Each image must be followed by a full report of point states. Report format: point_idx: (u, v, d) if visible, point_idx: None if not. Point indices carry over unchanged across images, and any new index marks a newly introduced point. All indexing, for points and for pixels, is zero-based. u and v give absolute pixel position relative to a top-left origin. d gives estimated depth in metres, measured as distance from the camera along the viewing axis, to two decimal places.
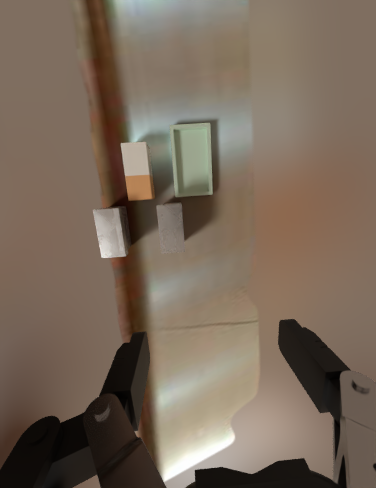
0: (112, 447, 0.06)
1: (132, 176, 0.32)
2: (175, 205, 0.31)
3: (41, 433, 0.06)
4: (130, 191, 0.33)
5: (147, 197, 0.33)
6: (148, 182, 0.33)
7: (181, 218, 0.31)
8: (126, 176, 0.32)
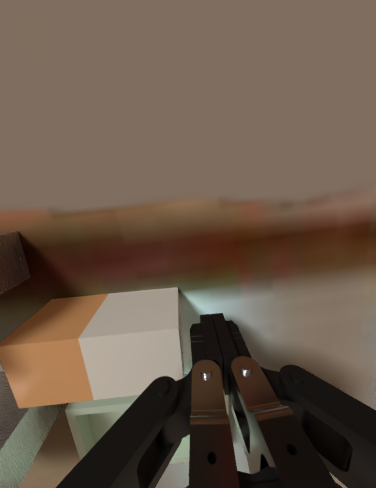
0: (206, 405, 0.07)
1: (80, 358, 0.10)
2: None
3: (164, 389, 0.07)
4: (29, 352, 0.10)
5: (20, 397, 0.10)
6: (69, 398, 0.11)
7: None
8: (79, 342, 0.10)
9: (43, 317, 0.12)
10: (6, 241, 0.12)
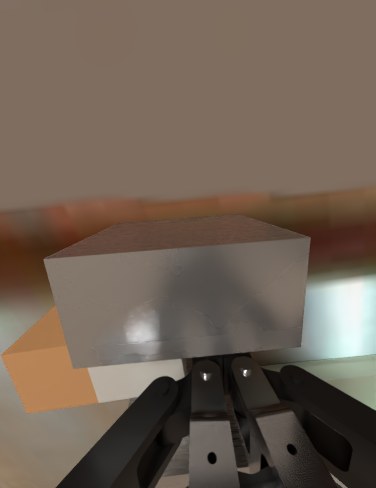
0: (206, 405, 0.07)
1: None
2: None
3: (164, 389, 0.07)
4: (33, 359, 0.10)
5: (28, 402, 0.11)
6: (75, 402, 0.11)
7: None
8: None
9: (46, 324, 0.12)
10: None
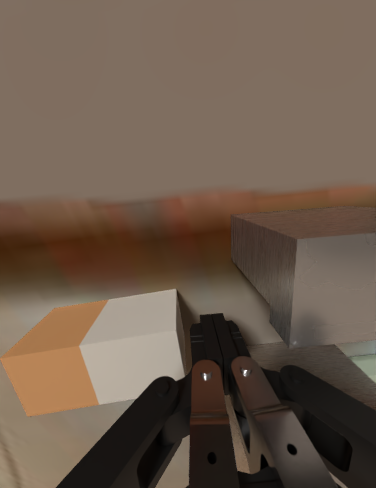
0: (206, 405, 0.07)
1: (82, 364, 0.10)
2: None
3: (164, 389, 0.07)
4: (32, 362, 0.10)
5: (28, 405, 0.11)
6: (75, 404, 0.11)
7: None
8: (80, 349, 0.10)
9: (46, 326, 0.12)
10: None
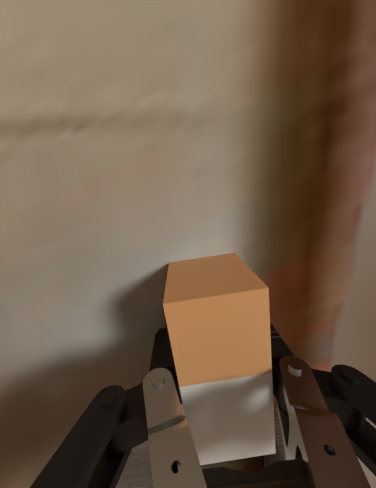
0: (162, 415, 0.07)
1: (244, 374, 0.08)
2: None
3: (110, 399, 0.07)
4: (257, 323, 0.08)
5: (183, 308, 0.07)
6: (181, 362, 0.08)
7: None
8: (266, 373, 0.08)
9: None
10: None
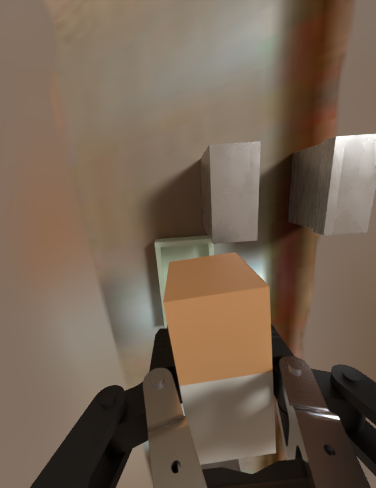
0: (162, 415, 0.07)
1: (244, 373, 0.08)
2: (223, 240, 0.17)
3: (110, 399, 0.07)
4: (257, 322, 0.08)
5: (183, 306, 0.07)
6: (181, 361, 0.08)
7: (213, 217, 0.17)
8: (266, 372, 0.08)
9: None
10: None
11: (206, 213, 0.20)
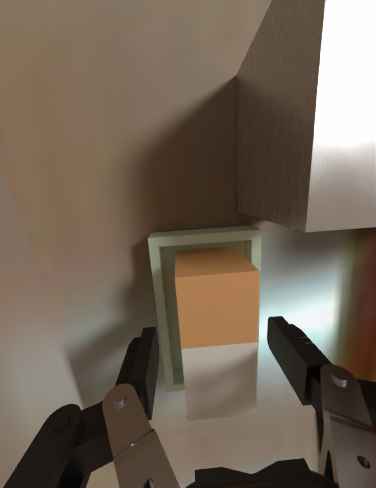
0: (128, 434, 0.06)
1: (235, 342, 0.10)
2: (336, 223, 0.06)
3: (64, 419, 0.07)
4: (248, 299, 0.09)
5: (190, 282, 0.09)
6: (184, 327, 0.10)
7: (318, 151, 0.06)
8: (252, 342, 0.10)
9: None
10: None
11: (261, 170, 0.09)
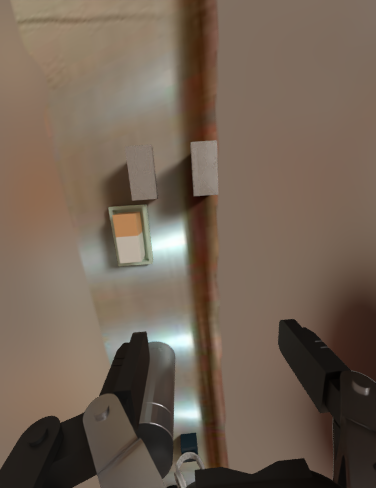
0: (112, 447, 0.06)
1: (131, 235, 0.35)
2: (138, 198, 0.31)
3: (41, 433, 0.06)
4: (133, 222, 0.35)
5: (116, 216, 0.34)
6: (116, 230, 0.35)
7: (131, 185, 0.31)
8: (136, 235, 0.35)
9: (138, 217, 0.37)
10: None
11: None
